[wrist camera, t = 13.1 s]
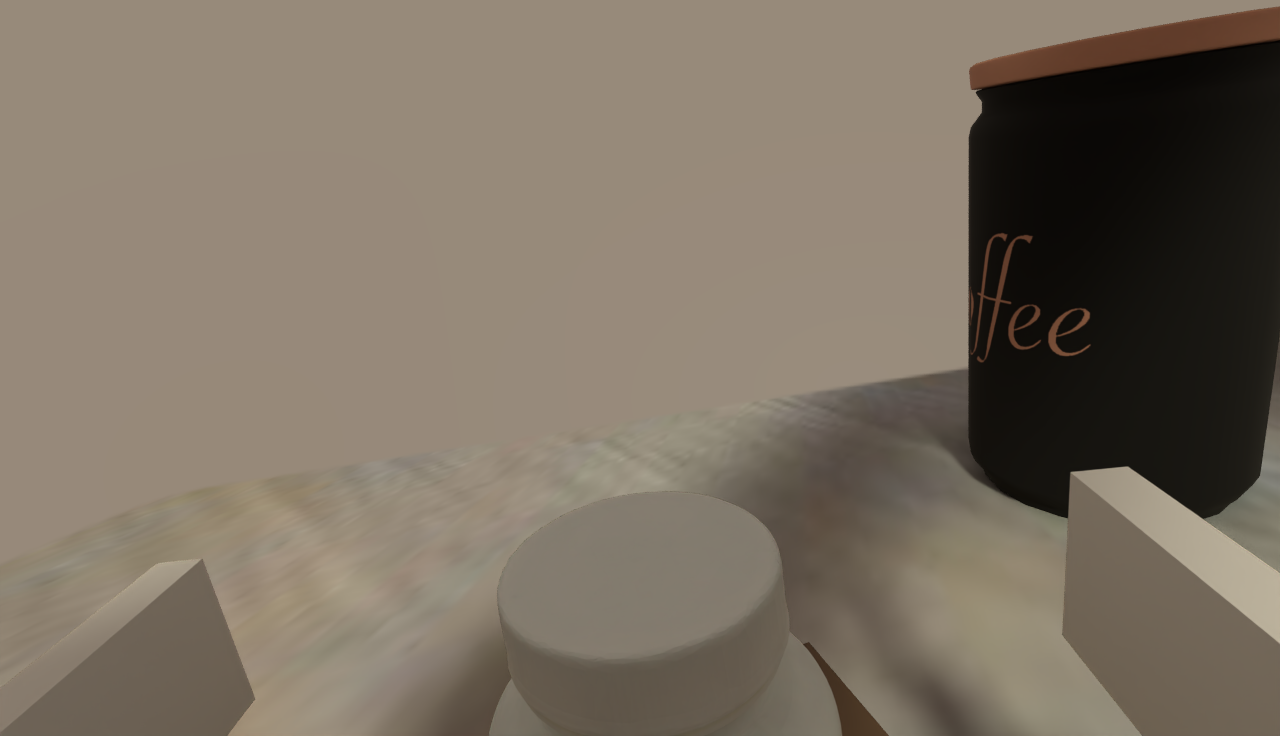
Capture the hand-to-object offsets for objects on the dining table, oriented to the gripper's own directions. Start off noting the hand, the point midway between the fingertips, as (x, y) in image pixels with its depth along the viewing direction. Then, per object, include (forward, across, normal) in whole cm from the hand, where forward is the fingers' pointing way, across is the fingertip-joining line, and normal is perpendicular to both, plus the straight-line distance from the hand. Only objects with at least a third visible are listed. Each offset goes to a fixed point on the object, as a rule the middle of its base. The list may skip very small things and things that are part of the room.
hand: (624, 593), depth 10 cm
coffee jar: (+20, +19, -10) cm, 29 cm away
